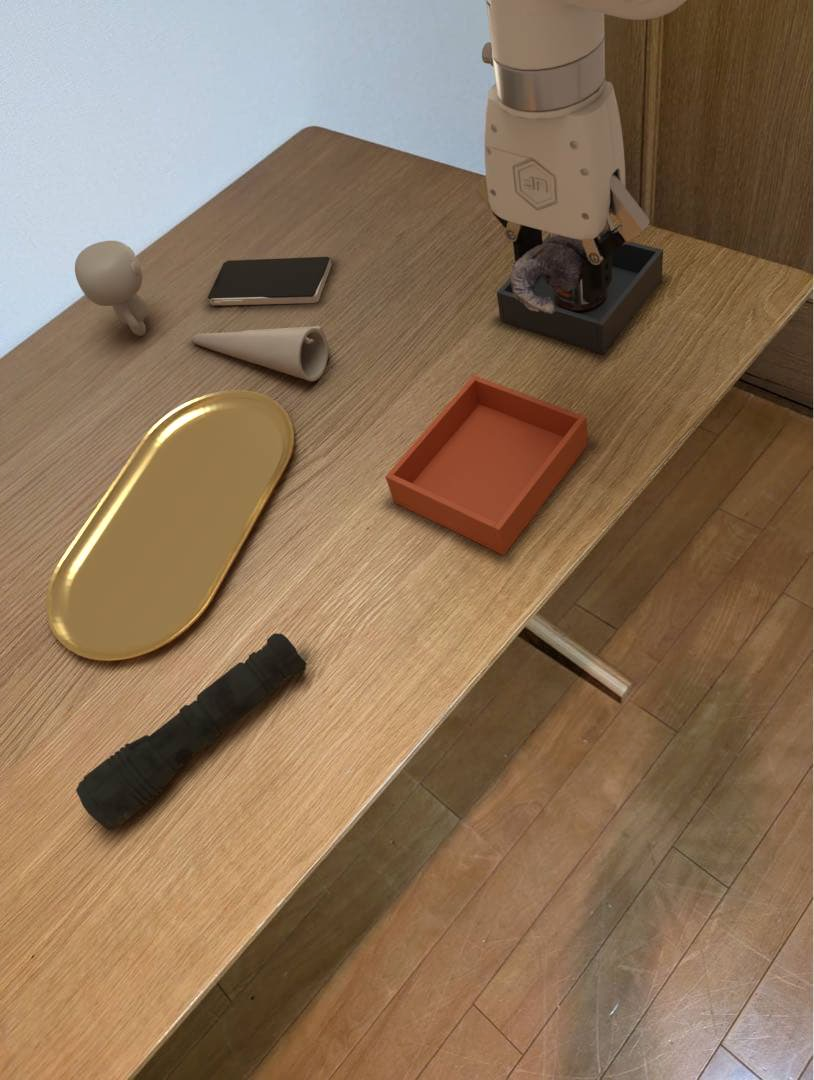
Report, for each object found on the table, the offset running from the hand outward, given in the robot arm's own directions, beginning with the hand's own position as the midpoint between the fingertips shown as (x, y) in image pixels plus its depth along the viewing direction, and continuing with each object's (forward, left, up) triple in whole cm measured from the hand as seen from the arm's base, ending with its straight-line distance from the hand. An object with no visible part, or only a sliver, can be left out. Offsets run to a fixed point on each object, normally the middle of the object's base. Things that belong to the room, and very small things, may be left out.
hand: (563, 280), depth 73 cm
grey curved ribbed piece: (0, 0, -1) cm, 1 cm away
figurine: (+58, +11, -18) cm, 61 cm away
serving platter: (+29, +30, -18) cm, 46 cm away
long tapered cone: (+39, +9, -18) cm, 43 cm away
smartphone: (+47, -3, -18) cm, 50 cm away
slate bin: (+9, -16, -18) cm, 25 cm away
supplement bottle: (+9, -16, -17) cm, 25 cm away
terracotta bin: (+4, +10, -18) cm, 20 cm away
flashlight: (+9, +46, -18) cm, 50 cm away
